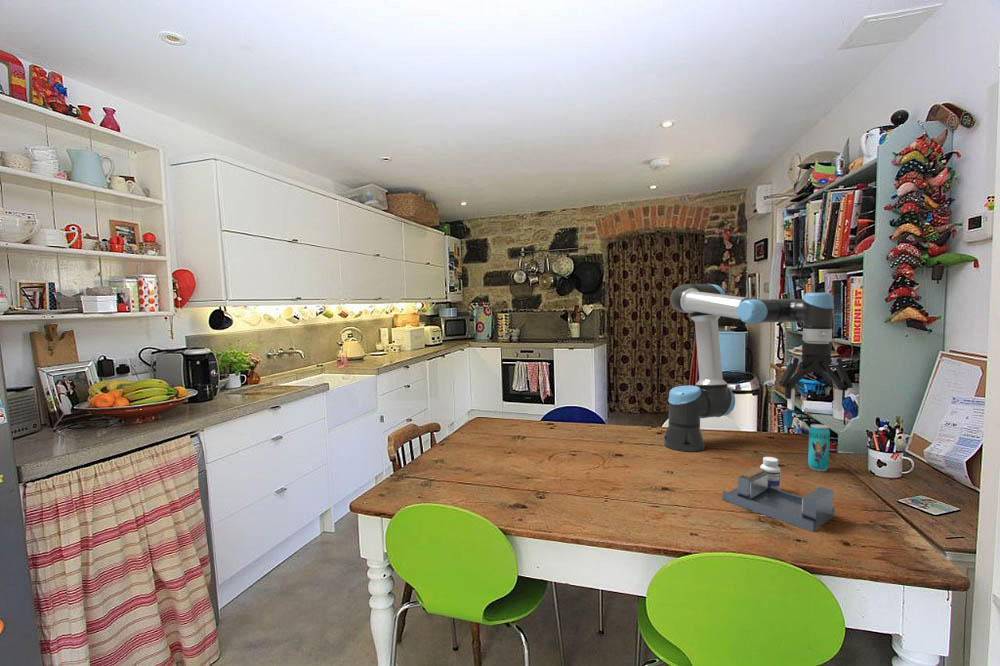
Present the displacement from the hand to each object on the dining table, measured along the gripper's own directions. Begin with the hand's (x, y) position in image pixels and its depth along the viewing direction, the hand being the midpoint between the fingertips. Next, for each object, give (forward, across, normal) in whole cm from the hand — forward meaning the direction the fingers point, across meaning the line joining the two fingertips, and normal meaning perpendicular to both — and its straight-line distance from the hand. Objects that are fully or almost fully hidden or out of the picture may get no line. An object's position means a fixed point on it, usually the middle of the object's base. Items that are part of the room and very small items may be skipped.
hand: (814, 409), depth 144 cm
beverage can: (+23, +8, +12) cm, 27 cm away
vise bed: (+23, -19, -21) cm, 36 cm away
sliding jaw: (+22, -24, -16) cm, 36 cm away
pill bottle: (+23, -16, -8) cm, 29 cm away
